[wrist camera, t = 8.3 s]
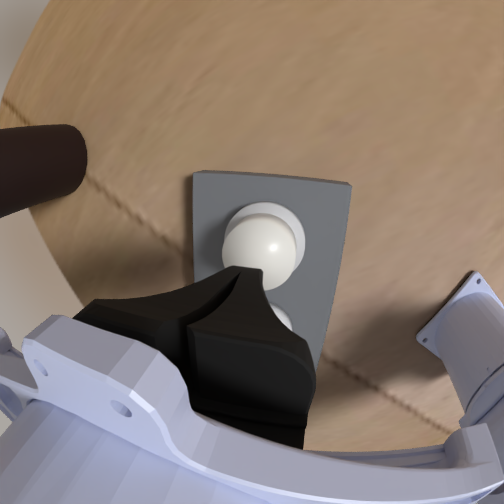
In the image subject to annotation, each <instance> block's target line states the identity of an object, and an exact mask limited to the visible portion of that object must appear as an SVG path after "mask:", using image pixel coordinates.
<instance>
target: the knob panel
mask: <svg viewBox="0 0 504 504" xmlns="http://www.w3.org/2000/svg"><path fill="white" fill-rule="evenodd" d="M351 191H352V186H351V185H350V184H349V183H348V182H341V181H333V180H325V179H317V178H308V177H298V176H288V175H277V174H265V173H251V172H234V171H212V170H202V171H198V172H194V173H193V255H194V283H196V282H198V281H200V280H203V279H205V278H207V277H209V276H211V275H213V274H215V273H217V272H219V271H221V270H223V269H225V267H224V264H223V260H222V248H223V244H224V242H225V239H226V238H227V236H228V235H229V233H230V232H231V231H232V230H233V229H234V228H235V227H236V226H237V224H238V223H239V222H240V221H241V220H243V219H244V218H246V217H247V216H250V215H252V214H256V213H268V214H272V215H275V216H277V217H279V218H281V219H283V220H284V221H285V222H286V223H287V224H288V225H289V226H290V227H291V229H292V231H293V232H294V235H295V238H296V243H297V249H296V258H295V265H294V269H293V271H292V273H291V275H290V277H289V278H288V279H287V280H286V281H285V282H284V283H283V284H282V285H280V286H278V287H276V288H274V289H271V290H265V294H266V297H267V299H268V302H269V304H270V306H271V308H272V309H273V311H274V312H275V314H276V315H277V317H278V318H279V319H280V320H281V322H282V323H283V324H284V325H285V326H287V327H288V328H289V329H290V330H291V331H293V332H294V333H296V334H297V335H299V336H300V337H302V338H303V339H305V340H306V341H307V343H308V346H309V349H310V352H311V355H312V359H313V362H314V367H315V373H316V370H317V366H318V362H319V359H320V355H321V351H322V347H323V343H324V339H325V335H326V331H327V327H328V322H329V318H330V313H331V309H332V304H333V300H334V295H335V290H336V285H337V280H338V275H339V270H340V264H341V258H342V253H343V247H344V241H345V234H346V228H347V221H348V214H349V207H350V199H351Z"/></svg>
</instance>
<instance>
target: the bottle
mask: <svg viewBox="0 0 504 504" xmlns="http://www.w3.org/2000/svg"><path fill="white" fill-rule="evenodd" d="M86 165H87V149H86V145H85V140H84V138H83V137H82V135H81V133H80V131H78V130H77V129H76V128H75V127H74V126H71V125H67V124H59V125H39V126H26V127H15V128H6V129H0V218H2V217H4V216H7V215H9V214H12V213H15V212H17V211H20V210H23V209H25V208H28V207H31V206H34V205H37V204H40V203H43V202H46V201H49V200H52V199H55V198H58V197H61V196H64V195H67V194H69V193H71V192H73V191H75V190H76V188H77V187H78V186H79V185H80V184H81V182H82V179H83V177H84V175H85V171H86Z"/></svg>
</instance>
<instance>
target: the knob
mask: <svg viewBox="0 0 504 504" xmlns="http://www.w3.org/2000/svg"><path fill="white" fill-rule="evenodd" d="M296 249H297V243H296V238H295V235H294V232H293V231H292V229H291V227H290V226H289V225H288V224H287V223H286V222H285V221H284V220H283V219H281V218H279V217H277V216H275V215H272V214H268V213H256V214H252V215H250V216H247V217H246V218H244V219H243V220H241V221H240V222H239V223H238V224H237V226H236V227H235V228H234V229H233V230H232V231H231V232H230V233H229V235H228V236H227V238H226V239H225V242H224V244H223V248H222V260H223V264H224V267H225V268H227V267H229V266H232V265H234V266H242V267H250V268H258V269H262V271H263V288H264V291H265V290H271V289H274V288H276V287H278V286H280V285H282V284H283V283H284V282H285V281H286V280H287V279H288V278H289V277H290V275H291V273H292V271H293V269H294V265H295V258H296Z"/></svg>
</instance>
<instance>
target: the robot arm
mask: <svg viewBox="0 0 504 504" xmlns="http://www.w3.org/2000/svg"><path fill="white" fill-rule="evenodd" d="M478 279H479V280H478ZM477 280H478V282H477ZM425 338H426V339H425ZM416 339H417V341H418V342H419V343H420V344H422V345H423V346H424V347H426V348H427V349H428V350H429V351H431V352H432V353H433V354H435V355H436V356H437V357H439V358H440V359H441V360H442V361H443V363H444V365H445V368H446V370H447V372H448V374H449V376H450V379H451V381H452V383H453V385H454V388H455V390H456V392H457V395H458V397H459V400H460V402H461V405H462V407H463V410H464V412H465V415H464V416H463V417H462V418H461V419H460V420H459V424H460V427H461V428H460V429H458V430H456V431H455V432H453V433H452V434H451V435H450V436H449V437H448V439H447V440H446V441H445V443H444V444H441V445H435V446H428V447H421V448H412V449H403V450H391V451H372V452H331V451H312V450H303V445H304V434H305V429H306V426H307V417H308V411H309V408H310V405H311V402H312V399H313V396H314V393H315V389H316V373H315V367H314V362H313V359H312V355H311V352H310V349H309V346H308V343H307V341H306V340H305V339H303V338H302V337H300V336H299V335H297V334H296V333H294V332H293V331H291V330H290V329H289V328H288V327H287V326H285V325H284V324H283V323H282V322H281V320H280V319H279V318H278V317H277V315H276V314H275V312H274V311H273V309H272V308H271V306H270V304H269V302H268V299H267V297H266V294H265V291H264V288H263V271H262V269H258V268H250V267H242V266H234V265H232V266H229V267H227V268H225V269H223V270H221V271H219V272H217V273H215V274H213V275H211V276H209V277H207V278H205V279H203V280H200V281H198V282H196V283H193V284H191V285H189V286H186V287H183V288H180V289H177V290H174V291H171V292H167V293H162V294H157V295H152V296H147V297H140V298H130V299H94V300H93V301H92V302H91V303H89V304H88V305H87V306H86V307H85V308H84V309H82V310H81V311H80V312H79V313H78V314H77V315H75V316H74V317H73V318H69V317H66V316H64V315H51V316H50V317H49V318H48V319H46V320H45V321H44V322H43V323H41V324H40V325H39V326H38V327H36V328H35V329H34V330H33V331H32V332H31V333H29V334H28V335H27V336H26V337H24V340H23V342H22V353H23V354H22V353H21V352H19V351H18V350H16V349H15V348H14V347H12V343H11V341H10V339H9V337H8V335H7V333H6V332H5V330H3V329H2V328H1V327H0V410H1V411H2V412H3V413H4V414H5V415H6V416H7V417H8V418H9V419H10V420H11V421H12V424H11V425H10V426H9V427H8V428H7V429H6V431H5V432H4V433H3V434H2V435H1V437H0V504H475V503H476V502H477V503H478V504H504V306H503V304H502V303H501V301H500V300H499V298H498V297H497V296H496V294H495V293H494V292H493V290H492V289H491V288H490V286H489V285H488V284H487V282H486V281H485V280H484V278H483V277H482V276H481V275H480V273H479V272H477V271H474V272H473V273H472V274H471V275H470V276H469V277H468V279H467V280H466V281H465V282H464V284H463V285H462V286H461V287H460V288H459V290H458V291H457V292H456V293H455V294H454V295H453V297H452V298H451V299H450V300H449V301H448V302H447V303H446V305H445V306H444V307H443V308H442V309H441V310H440V311H439V312H438V313H437V314H436V315H435V316H434V317H433V319H432V320H431V321H430V322H429V323H428V324H427V325H426V326H425V327H424V328H423V329H422V330H421V331H420V332H419V333H418V334H417V335H416ZM423 339H425V340H423Z"/></svg>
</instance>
